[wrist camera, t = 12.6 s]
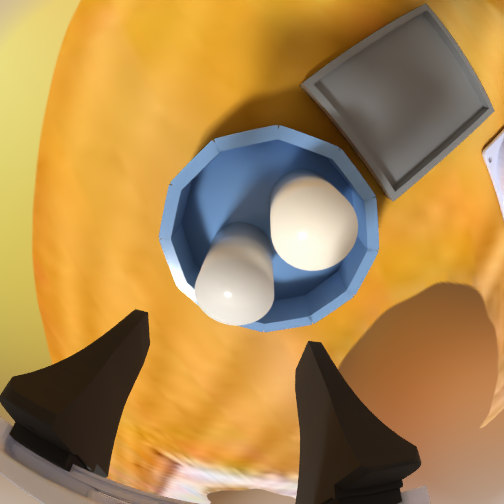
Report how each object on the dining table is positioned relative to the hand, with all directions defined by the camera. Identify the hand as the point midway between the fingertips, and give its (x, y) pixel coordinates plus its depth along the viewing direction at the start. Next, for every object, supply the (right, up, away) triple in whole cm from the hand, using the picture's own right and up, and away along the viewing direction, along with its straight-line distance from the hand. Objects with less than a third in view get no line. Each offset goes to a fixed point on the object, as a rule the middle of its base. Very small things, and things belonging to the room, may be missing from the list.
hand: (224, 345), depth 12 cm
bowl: (+2, +6, +8) cm, 11 cm away
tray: (+12, +15, +3) cm, 20 cm away
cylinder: (0, +4, +8) cm, 9 cm away
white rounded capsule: (+5, +8, +7) cm, 11 cm away
